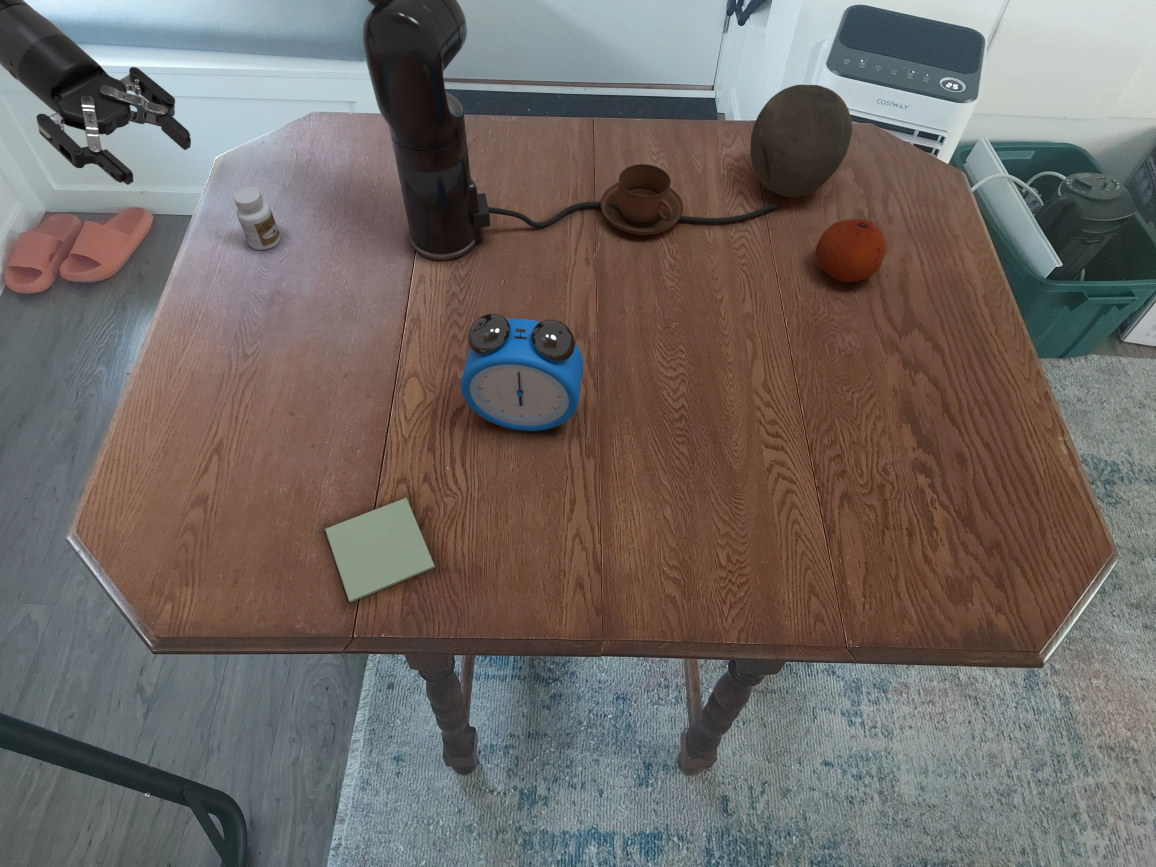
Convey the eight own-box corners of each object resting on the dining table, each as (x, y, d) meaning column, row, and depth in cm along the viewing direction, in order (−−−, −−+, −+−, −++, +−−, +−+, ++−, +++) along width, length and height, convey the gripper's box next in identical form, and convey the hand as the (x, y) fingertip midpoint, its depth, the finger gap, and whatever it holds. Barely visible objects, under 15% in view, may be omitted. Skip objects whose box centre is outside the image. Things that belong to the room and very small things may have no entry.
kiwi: (841, 216, 112) (876, 124, 100) (746, 214, 112) (770, 121, 100) (823, 158, 121) (853, 67, 108) (735, 156, 120) (755, 64, 108)
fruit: (847, 242, 109) (866, 196, 102) (886, 282, 104) (909, 236, 98) (796, 259, 107) (812, 213, 100) (834, 300, 102) (854, 255, 96)
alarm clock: (465, 427, 88) (451, 341, 76) (475, 386, 92) (463, 297, 80) (576, 439, 88) (580, 354, 76) (582, 397, 91) (586, 309, 79)
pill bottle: (273, 253, 105) (254, 207, 98) (243, 248, 105) (223, 202, 99) (286, 232, 107) (269, 186, 101) (257, 228, 108) (238, 182, 101)
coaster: (407, 499, 83) (406, 497, 82) (435, 567, 78) (434, 565, 78) (326, 530, 80) (324, 528, 80) (350, 603, 76) (349, 601, 75)
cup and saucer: (695, 208, 113) (702, 173, 108) (656, 253, 107) (661, 218, 102) (626, 179, 116) (629, 144, 111) (584, 222, 110) (586, 186, 105)
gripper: (-19, 62, 80) (109, 172, 82) (95, 11, 88) (208, 113, 90) (-6, 109, 86) (112, 210, 89) (99, 58, 94) (205, 152, 96)
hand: (160, 161), depth 89 cm, fingers open, 8 cm apart
